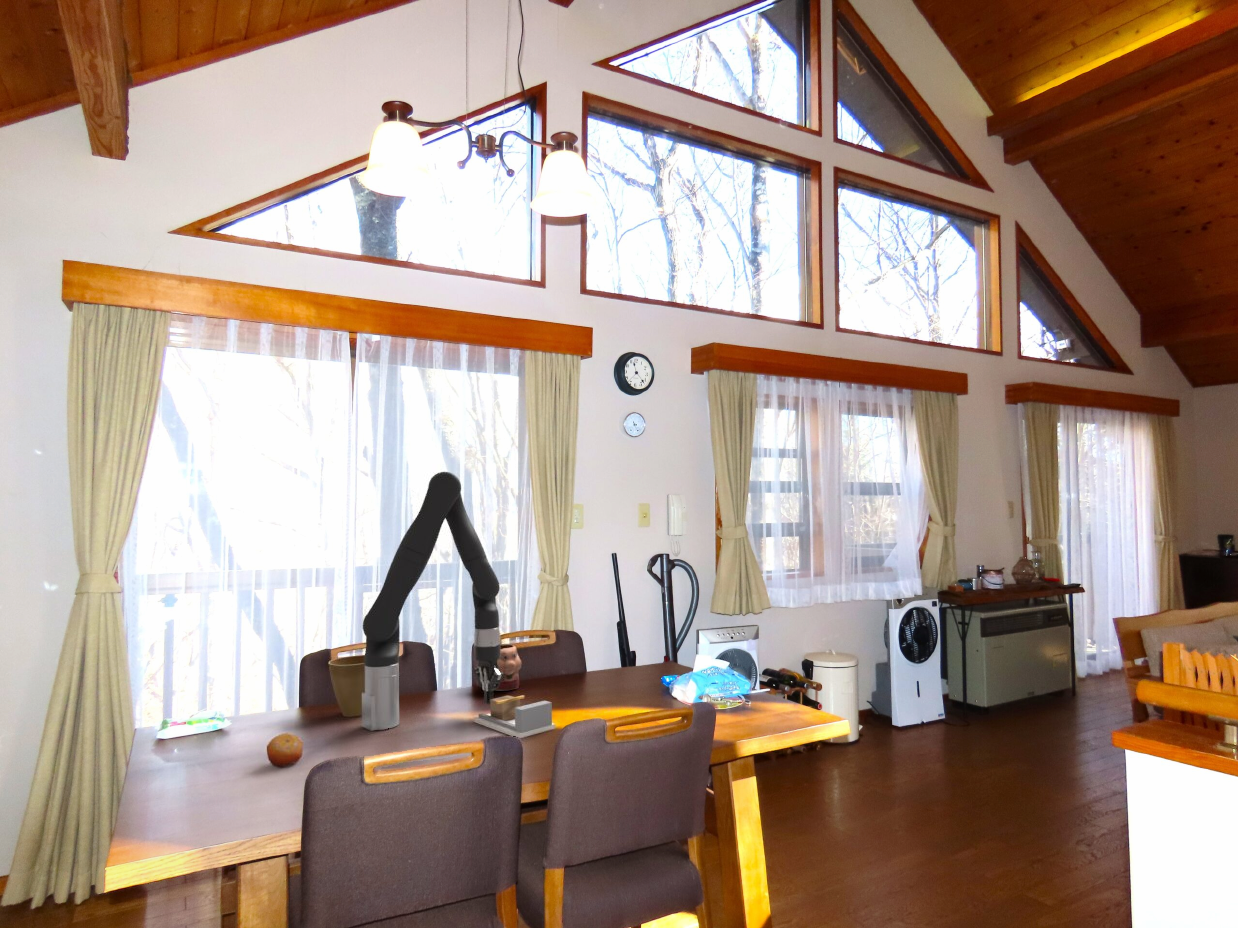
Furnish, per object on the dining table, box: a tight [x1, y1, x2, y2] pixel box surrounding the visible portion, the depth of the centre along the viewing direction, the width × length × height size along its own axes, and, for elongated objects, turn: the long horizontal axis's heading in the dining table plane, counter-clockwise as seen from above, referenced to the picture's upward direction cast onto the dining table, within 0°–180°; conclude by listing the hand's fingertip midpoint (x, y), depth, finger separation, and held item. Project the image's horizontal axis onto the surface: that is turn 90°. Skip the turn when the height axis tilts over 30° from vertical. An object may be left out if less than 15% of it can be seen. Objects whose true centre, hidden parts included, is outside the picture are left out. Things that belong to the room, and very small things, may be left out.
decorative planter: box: [493, 644, 522, 692], centre depth 256 cm, size 20×12×14 cm, turn 36°
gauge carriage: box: [489, 695, 525, 721], centre depth 215 cm, size 9×6×6 cm, turn 132°
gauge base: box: [473, 700, 556, 739], centre depth 212 cm, size 12×22×7 cm, turn 42°
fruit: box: [266, 733, 304, 769], centre depth 184 cm, size 8×8×8 cm
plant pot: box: [328, 654, 365, 718], centre depth 228 cm, size 15×15×16 cm
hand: (489, 702), depth 221 cm, fingers closed
